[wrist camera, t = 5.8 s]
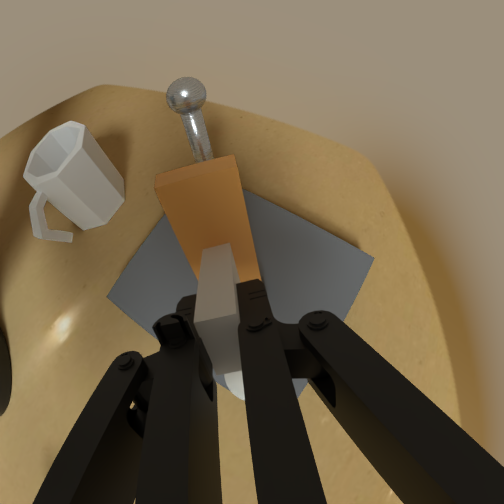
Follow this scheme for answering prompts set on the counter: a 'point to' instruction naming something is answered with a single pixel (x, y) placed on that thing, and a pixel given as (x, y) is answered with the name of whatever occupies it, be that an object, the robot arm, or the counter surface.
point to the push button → (235, 383)
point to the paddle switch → (209, 212)
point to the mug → (72, 181)
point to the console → (270, 266)
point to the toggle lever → (191, 114)
